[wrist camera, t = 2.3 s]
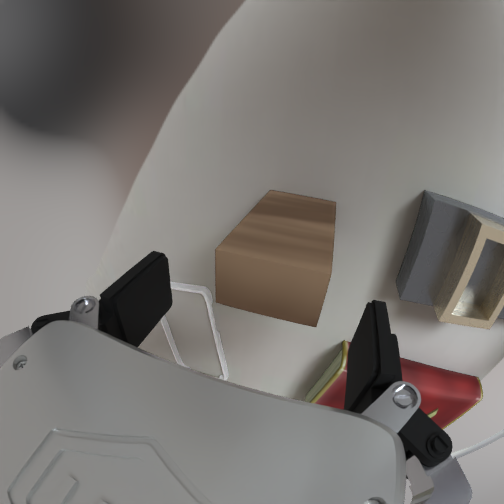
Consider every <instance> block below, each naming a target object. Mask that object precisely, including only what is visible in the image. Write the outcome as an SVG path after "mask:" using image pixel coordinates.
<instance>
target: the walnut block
mask: <svg viewBox="0 0 504 504" xmlns="http://www.w3.org/2000/svg"><path fill="white" fill-rule="evenodd" d="M335 216H336V202H333V201H328V200H323V199H318V198H313V197H307V196H302V195H296V194H291V193H285V192H279V191H273V190H270V191H269V192H268V193H267V194H266V195H265V196H264V197H263V198H262V199H261V200H260V202H259V203H258V204H257V205H256V206H255V207H254V208H253V209H252V210H251V211H250V212H249V213H248V214H247V215H246V216H245V218H244V219H243V220H242V221H241V222H240V223H239V224H238V225H237V226H236V227H235V228H234V229H233V230H232V232H231V233H230V234H229V235H228V236H227V237H226V238H225V239H224V240H223V241H222V242H221V244H220V245H219V246H218V247H217V248H216V249H215V286H216V303H220V304H223V305H227V306H230V307H234V308H238V309H242V310H246V311H249V312H253V313H257V314H261V315H265V316H269V317H273V318H277V319H282V320H286V321H290V322H294V323H299V324H303V325H308V326H312V327H316V326H317V323H318V320H319V316H320V313H321V310H322V306H323V303H324V299H325V296H326V292H327V289H328V285H329V281H330V277H331V273H332V261H333V249H334V234H335Z"/></svg>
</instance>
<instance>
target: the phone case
mask: <svg viewBox="0 0 504 504" xmlns="http://www.w3.org/2000/svg"><path fill="white" fill-rule="evenodd" d="M170 285H171V289H175V290H181V291H187V292H194V293H200V294H202V295H203V297H204V298H205V301H206V304H207V309H208V313H209V318H210V322H211V326H212V331H213V335H214V339H215V343H216V347H217V351H218V355H219V359H220V363H221V367H222V371H223V375H224V376H223V375H220V377H219V378H218V379H222V380H225V381H227V378H228V376H229V373H228V369H227V364H226V360H225V356H224V351H223V347H222V342H221V338H220V333H219V331H217V329H216V324H215V320H214V315H213V311H212V306H211V304H212V302H213V300H212V295H211V292H210V290H209V289H208V288H207V287H205V286H198V285H191V284H184V283H177V282H171V281H170ZM160 321H161V324H162V326H163V329H164V332H165V334H166V337H167V340H168V342H169V345H170V347H171V350H172V352H173V355H174V357H175V360H176V362H177V364H179V365H181V366H184V367H187V368H189V369H190V367H188V366H185V365H184V364H183V362H182V360H181V358H180V355H179V353H178V350H177V347H176V345H175V342H174V339H173V336H172V334H171V331H170V328H169V325H168V322H167V319H166V316H165V315H164V316H163V317H162V318H161V320H160ZM212 377H213V376H212ZM215 378H217V377H215Z"/></svg>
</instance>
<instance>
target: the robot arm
mask: <svg viewBox="0 0 504 504" xmlns="http://www.w3.org/2000/svg"><path fill="white" fill-rule="evenodd" d="M100 297H101V299H100V300H99V301H98V299H97V298H95V297H93V296H84V297H81V298H79V299H77V300H76V301H74V303H73V304H72V306H71V310H70V311H66V312H60V313H55V314H49V315H44V316H41V317H39V318H37V319H36V320H35V321H34V322H33V324H32V326H31V329H30V328H29V326H28V327H26V328H23V329H21V330H19V331H16V332H14V333H12V334H9V335H7V336H5V337H3V338H1V339H0V504H404V499H405V488H406V478H407V479H409V481H410V483H411V486H409V487H410V489H411V491H412V495H413V498H412V502H411V504H469V502H470V500H471V498H472V489H471V487H470V484H469V482H468V480H467V478H466V476H465V474H464V472H463V471H462V469H461V467H460V465H459V463H458V461H457V459H456V457H455V458H452V456H451V455H450V454H451V452H452V441H451V439H450V437H449V436H448V434H446V432H444V431H443V430H442V429H441V428H440V427H439V426H438V425H437V424H436V423H435V422H434V421H433V420H432V419H431V418H430V417H429V416H428V415H427V414H425V413H424V412H423V411H422V410H421V409H420V408H419V406H420V404H421V395H420V393H419V391H418V389H417V388H416V387H415V386H414V385H412V384H411V383H409V382H405V381H403V379H402V370H401V362H400V355H399V348H398V341H397V336H396V335H395V334H391V330H390V324H389V318H388V312H387V306H386V303H385V302H382V301H377V300H373V301H372V302H371V303H370V302H368V303H367V305H366V308H365V310H364V313H363V315H362V318H361V320H360V323H359V325H358V327H357V330H356V332H355V334H354V337H353V339H352V341H351V343H350V346H349V349H348V361H347V378H346V391H345V402H344V410H343V409H338V408H334V407H329V406H324V405H319V404H314V403H309V402H305V401H300V400H296V399H291V398H287V397H283V396H279V395H274V394H270V393H267V392H263V391H259V390H255V389H252V388H248V387H245V386H241V385H238V384H235V383H231V382H228V381H225V380H222V379H218V378H215V377H212V376H209V375H206V374H204V373H201V372H198V371H195V370H192V369H189V368H187V367H184V366H181V365H179V364H176V363H174V362H171V361H168V360H166V359H163V358H161V357H158V356H156V355H154V354H151V353H149V352H146V351H144V350H142V349H140V348H137V347H138V346H139V345H140V344H141V342H142V341H143V340H144V339H145V338H146V336H147V335H148V334H149V333H150V332H151V330H152V329H153V328H154V327H155V326H156V324H157V323H158V322H159V321H160V320H161V318H162V317H163V316H164V315H165V314H166V312H167V311H168V310H169V309H170V308H171V306H172V293H171V285H170V275H169V265H168V258H167V257H166V256H165V254H164V253H160V252H156V251H153V252H151V253H150V254H148V255H147V256H146V257H145V258H143V259H142V260H141V261H140V262H138V263H137V264H136V265H135V266H134V267H132V268H131V269H130V270H129V271H127V272H126V273H125V274H124V275H123V276H121V277H120V278H119V279H118V280H117V281H115V282H114V283H113V284H112V285H111V286H110V287H108V288H107V289H106V290H105V291H104V292H103V293H101V294H100ZM366 500H367V501H366Z"/></svg>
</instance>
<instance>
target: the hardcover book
mask: <svg viewBox="0 0 504 504" xmlns="http://www.w3.org/2000/svg"><path fill="white" fill-rule="evenodd" d="M350 343H351V342H348V341H345V340H344V341H343V342H342V350H341V351H340V352H339V354H338V355H337V357H336V358H335V359H334V361H333V362H332V363H331V365H330V366H329V367H328V368H327V370H326V371H325V372H324V374H323V375H322V376H321V377H320V379H319V380H318V381H317V383H316V384H315V385H314V386H313V387H312V389H311V390H310V391H309V392H308V394H307V395H306V398H305V402H309V403H314V404H319V405H324V406H329V407H334V408H338V409H343V410H344V402H345V391H346V378H347V361H348V349H349V346H350ZM400 362H401V370H402V379H403V381H405V382H409V383H411V384H412V385H414V386H415V387H416V388H417V389H418V391H419V393H420V395H421V404H420V406H419V408H420V409H421V410H422V411H423V412H424V413H425V414H427V415H428V416H429V417H430V418H431V419H432V420H433V421H434V422H435V423H436V424H437V425H438V426H439V427H440V428H441V429H442V430H443V429H444V428H446V427H447V426H448V425H450V424H451V423H453V422H454V421H455V420H457V419H458V418H460V417H461V416H462V415H463V414H465V413H466V412H467V411H469V410H470V409H471V408H472V407H473V406H475V405H476V404H477V403H478V402H480V401H481V400H482V397H483V392H482V386H481V383H480V380H479V378H478V377H475V376H470V375H466V374H462V373H457V372H453V371H449V370H445V369H441V368H437V367H433V366H430V365H426V364H422V363H418V362H415V361H411V360H407V359H404V358H400Z"/></svg>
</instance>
